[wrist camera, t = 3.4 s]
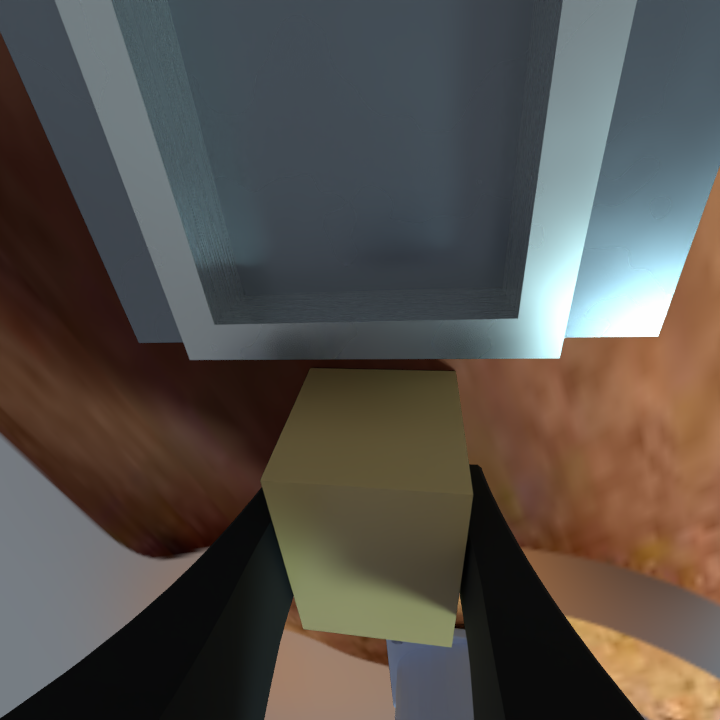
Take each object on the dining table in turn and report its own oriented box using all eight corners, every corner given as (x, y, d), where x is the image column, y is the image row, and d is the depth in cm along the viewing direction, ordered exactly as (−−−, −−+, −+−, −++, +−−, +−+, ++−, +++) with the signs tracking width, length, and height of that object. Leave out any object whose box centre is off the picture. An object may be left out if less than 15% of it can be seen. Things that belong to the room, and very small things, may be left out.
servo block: (443, 514, 13) (451, 647, 10) (331, 506, 14) (303, 628, 11) (455, 371, 10) (473, 494, 7) (310, 368, 11) (260, 480, 7)
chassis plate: (635, 315, 9) (703, 377, 7) (161, 325, 11) (97, 375, 9) (946, -669, 4) (1717, -1827, 1) (-90, -303, 5) (-410, -568, 3)
